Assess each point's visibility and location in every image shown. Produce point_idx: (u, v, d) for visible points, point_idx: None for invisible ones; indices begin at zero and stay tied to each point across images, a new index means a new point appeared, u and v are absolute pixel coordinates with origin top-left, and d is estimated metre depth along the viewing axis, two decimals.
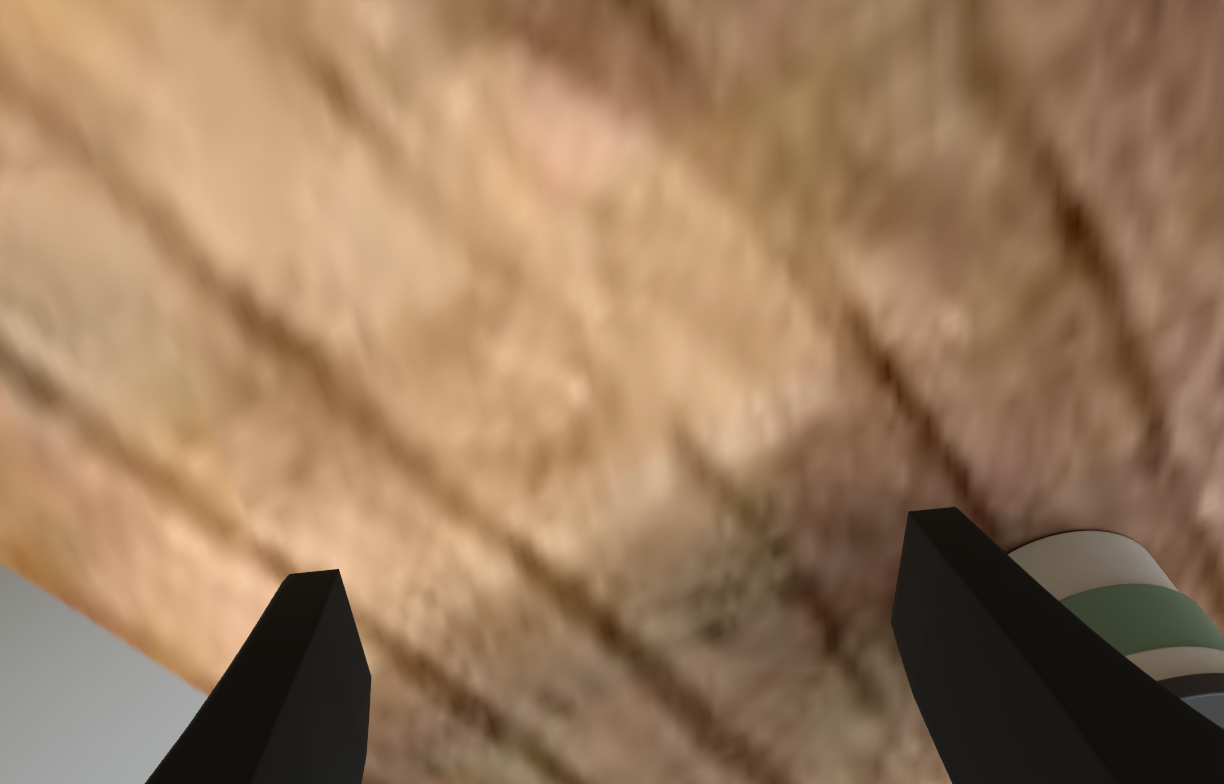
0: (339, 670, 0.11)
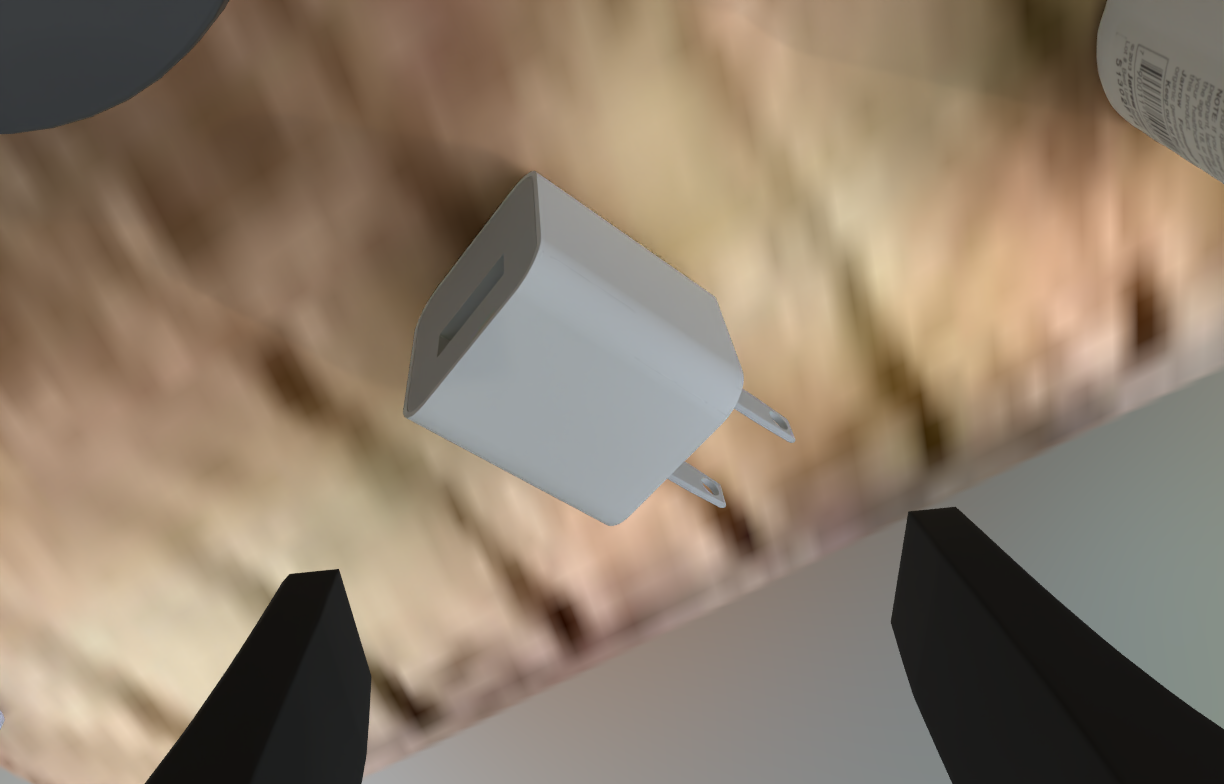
0: (339, 670, 0.11)
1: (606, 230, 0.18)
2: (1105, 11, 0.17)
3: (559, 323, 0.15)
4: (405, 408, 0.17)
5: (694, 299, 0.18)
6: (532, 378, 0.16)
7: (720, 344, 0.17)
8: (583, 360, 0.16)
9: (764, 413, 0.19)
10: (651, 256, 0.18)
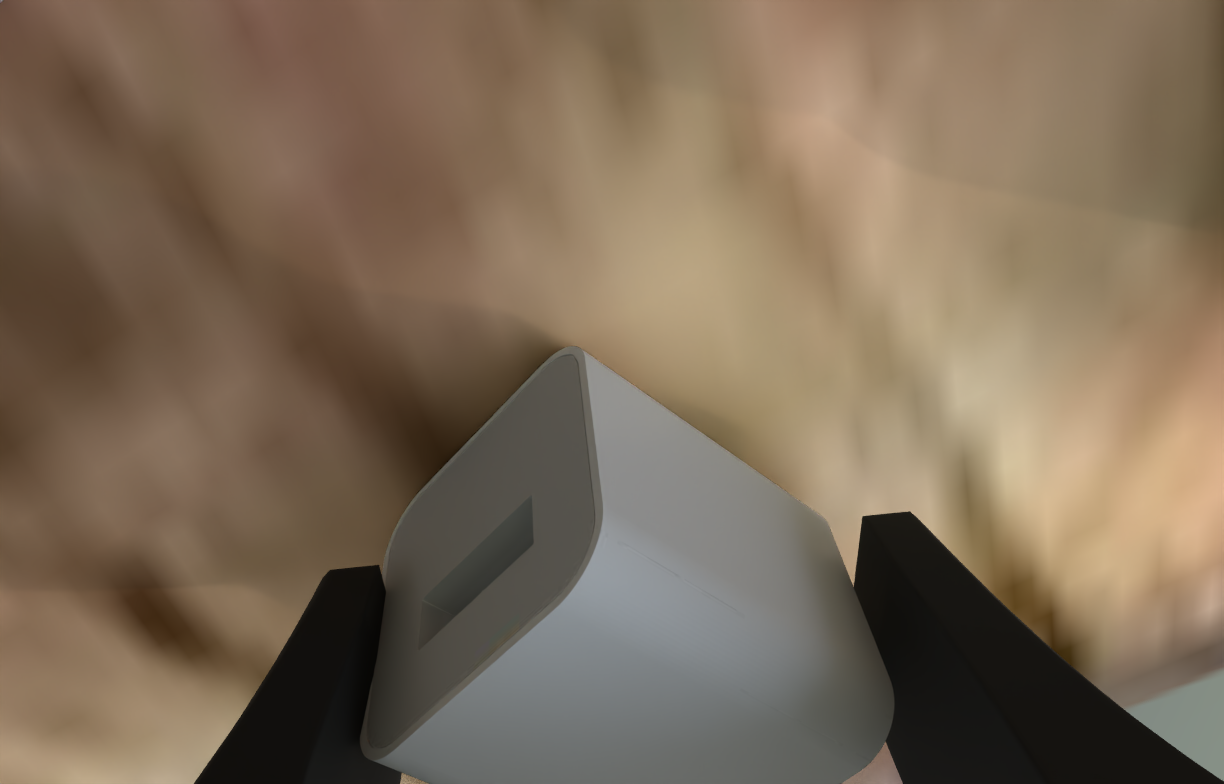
0: None
1: (684, 442, 0.12)
2: None
3: (626, 647, 0.09)
4: (363, 729, 0.10)
5: (807, 541, 0.12)
6: (573, 717, 0.10)
7: (855, 632, 0.11)
8: (659, 694, 0.10)
9: None
10: (744, 472, 0.12)
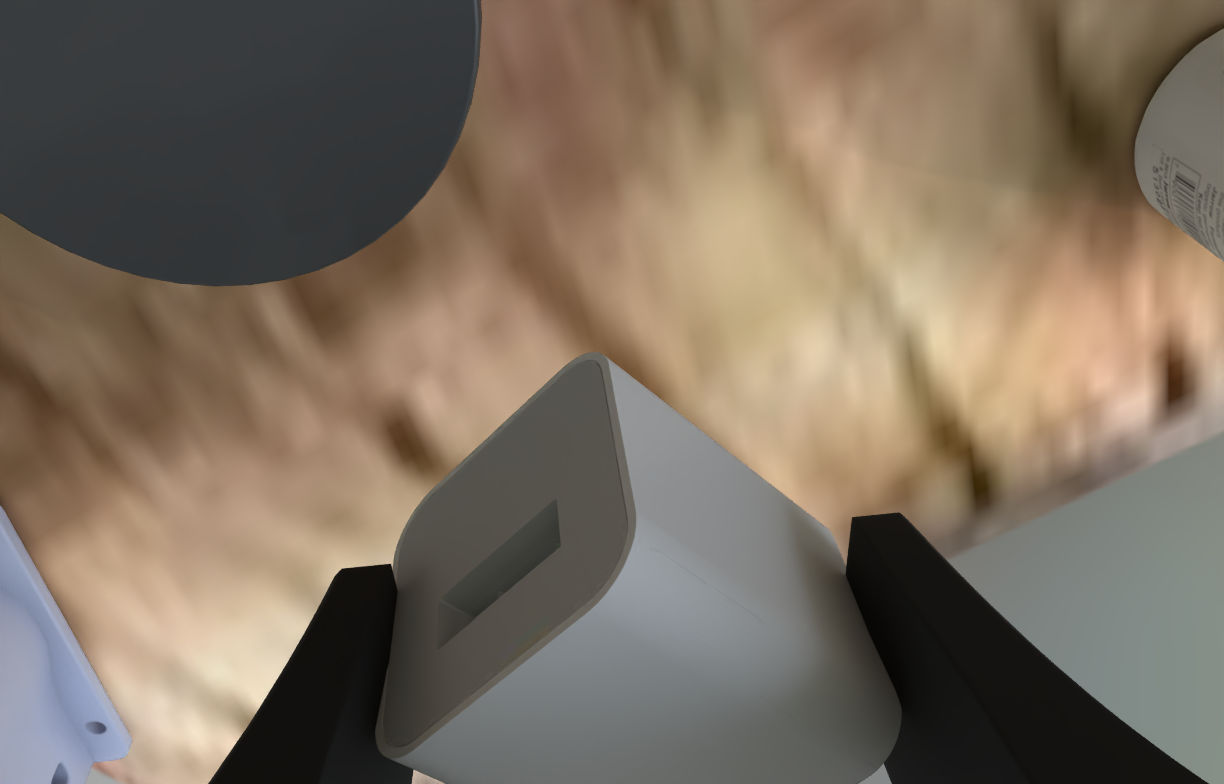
0: None
1: (703, 452, 0.12)
2: (1143, 123, 0.19)
3: (653, 652, 0.09)
4: (379, 728, 0.11)
5: (816, 552, 0.12)
6: (594, 720, 0.10)
7: (863, 641, 0.11)
8: (681, 699, 0.10)
9: None
10: (756, 482, 0.12)
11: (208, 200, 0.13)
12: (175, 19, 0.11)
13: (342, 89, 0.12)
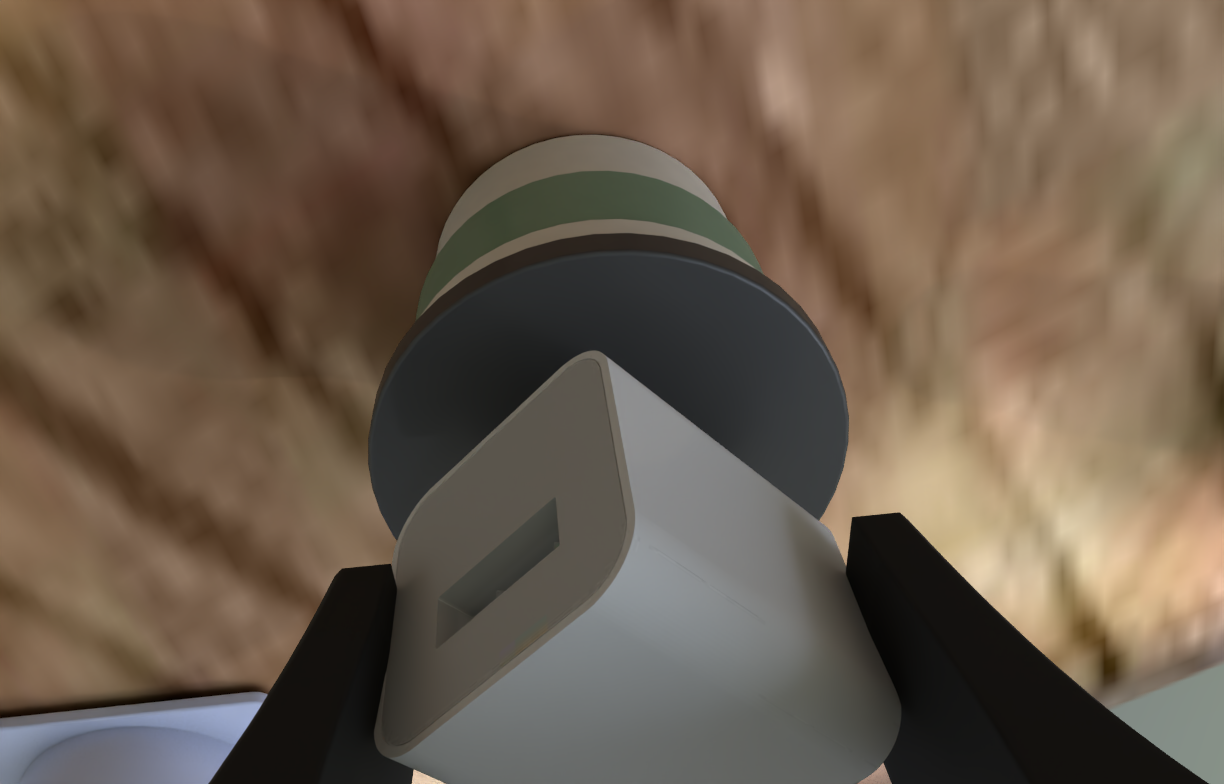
0: None
1: (702, 449, 0.12)
2: None
3: (652, 650, 0.09)
4: (378, 726, 0.10)
5: (815, 551, 0.12)
6: (593, 718, 0.10)
7: (863, 640, 0.11)
8: (680, 697, 0.10)
9: None
10: (756, 481, 0.12)
11: None
12: None
13: None
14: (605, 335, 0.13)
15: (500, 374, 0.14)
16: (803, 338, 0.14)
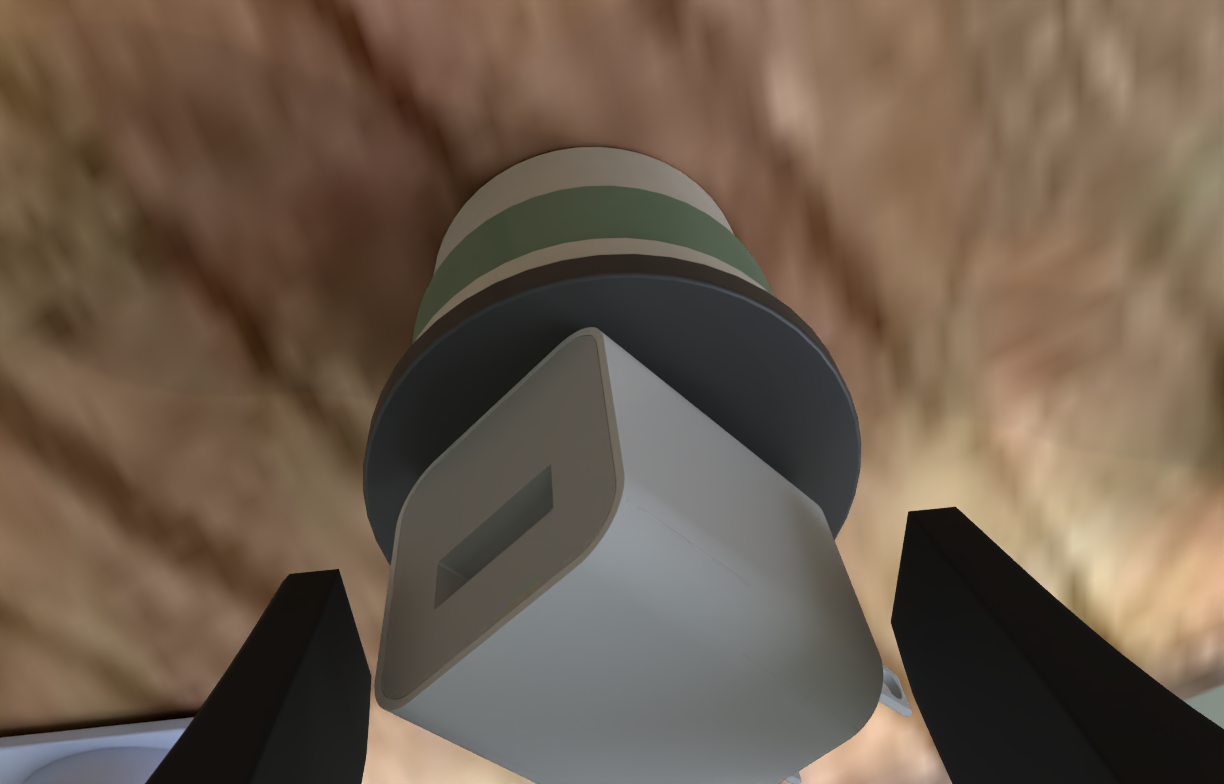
0: (339, 670, 0.11)
1: (694, 424, 0.12)
2: None
3: (639, 608, 0.10)
4: (378, 683, 0.11)
5: (804, 524, 0.13)
6: (584, 674, 0.10)
7: (848, 610, 0.12)
8: (666, 655, 0.10)
9: None
10: (747, 456, 0.13)
11: None
12: None
13: None
14: None
15: None
16: (815, 362, 0.13)
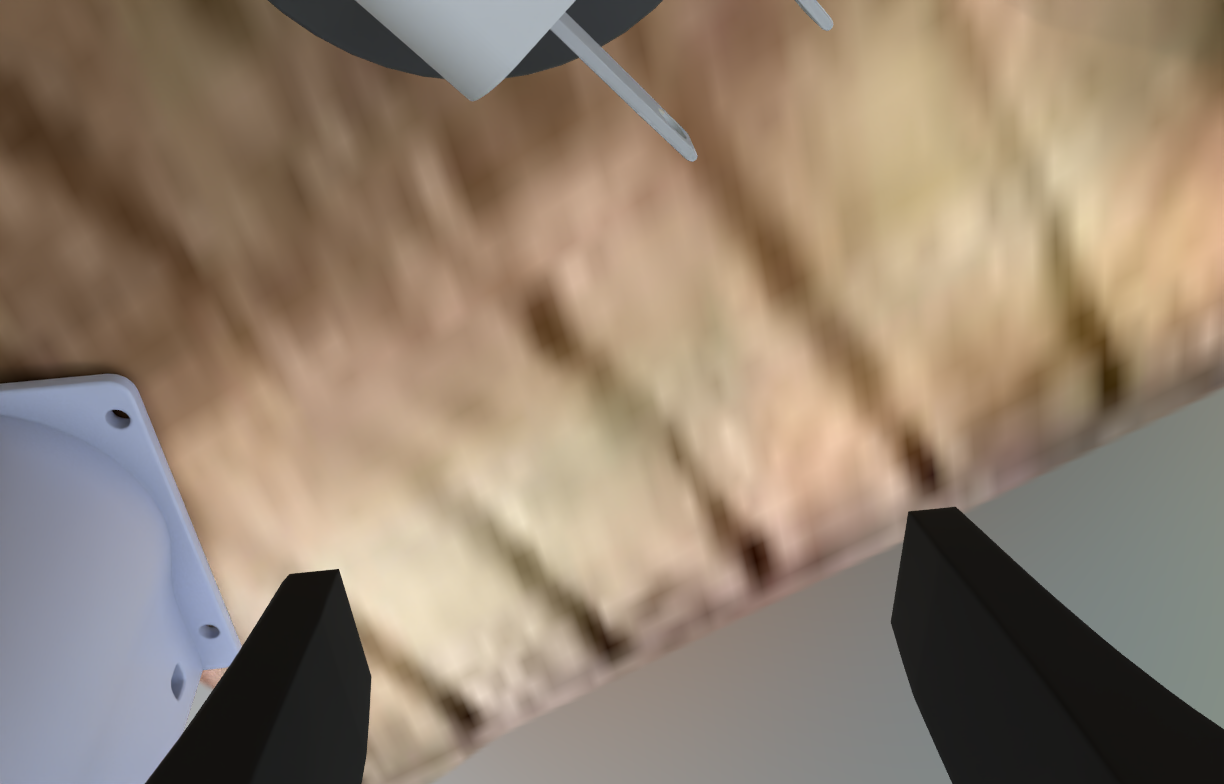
0: (339, 670, 0.11)
1: None
2: None
3: None
4: None
5: None
6: None
7: None
8: None
9: None
10: None
11: None
12: None
13: None
14: None
15: None
16: None
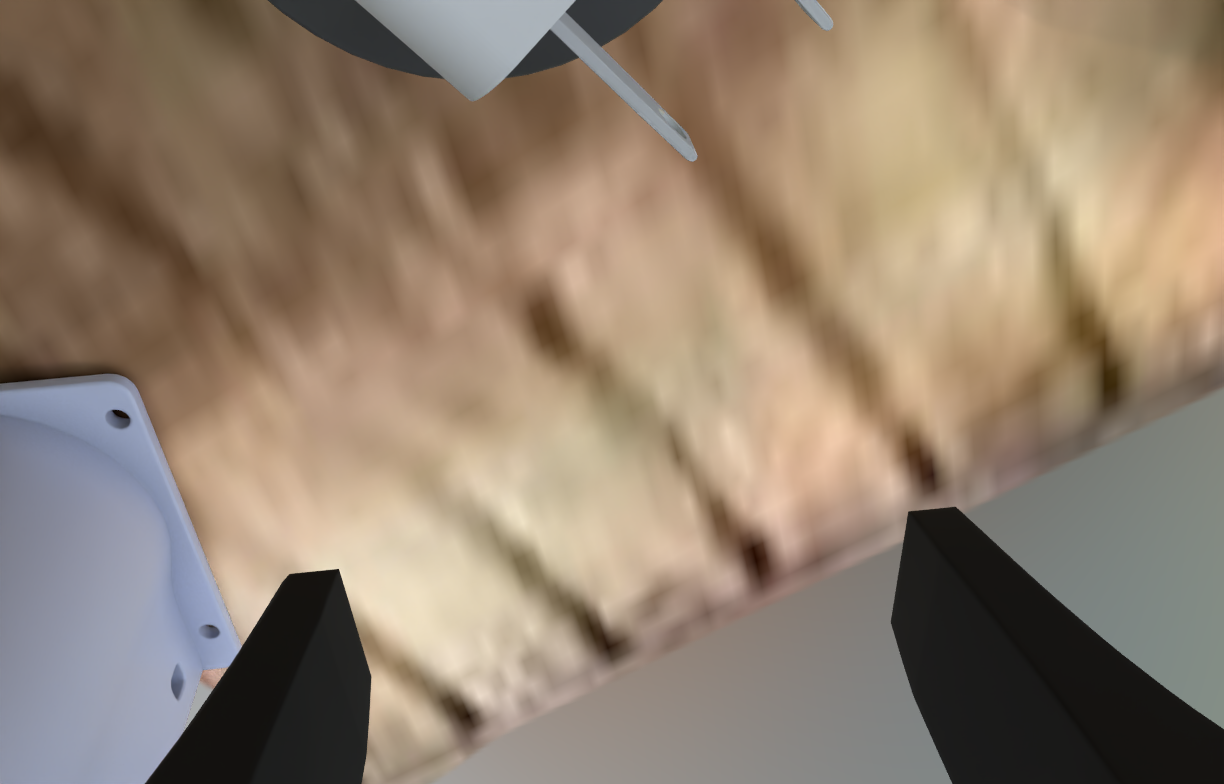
0: (339, 670, 0.11)
1: None
2: None
3: None
4: None
5: None
6: None
7: None
8: None
9: None
10: None
11: None
12: None
13: None
14: None
15: None
16: None
